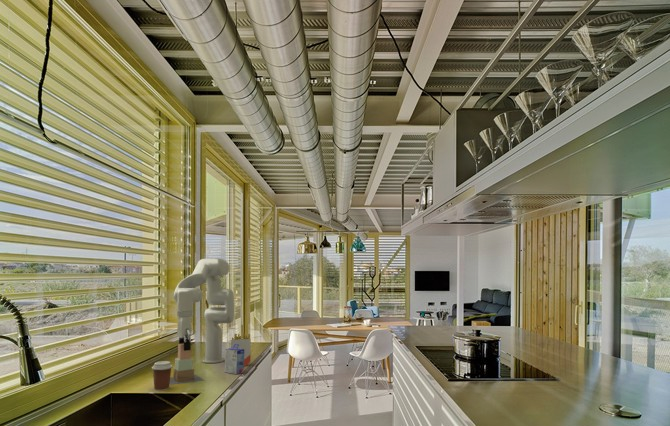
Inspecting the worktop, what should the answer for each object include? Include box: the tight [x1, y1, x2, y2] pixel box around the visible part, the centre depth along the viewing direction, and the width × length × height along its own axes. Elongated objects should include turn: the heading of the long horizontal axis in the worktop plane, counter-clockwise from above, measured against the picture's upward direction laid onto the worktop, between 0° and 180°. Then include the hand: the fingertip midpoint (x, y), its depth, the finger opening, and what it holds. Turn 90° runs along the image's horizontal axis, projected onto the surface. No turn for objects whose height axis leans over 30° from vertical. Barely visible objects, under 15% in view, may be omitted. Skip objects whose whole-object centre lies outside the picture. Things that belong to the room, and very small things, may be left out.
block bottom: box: [173, 367, 195, 382], centre depth 235 cm, size 8×8×5 cm
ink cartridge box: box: [224, 344, 245, 375], centre depth 252 cm, size 10×6×14 cm, turn 53°
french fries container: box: [230, 333, 252, 367], centre depth 270 cm, size 5×11×18 cm, turn 103°
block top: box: [174, 357, 194, 371], centre depth 236 cm, size 7×7×5 cm
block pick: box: [177, 343, 192, 360], centre depth 237 cm, size 5×5×7 cm
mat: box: [169, 373, 205, 386], centre depth 235 cm, size 16×16×1 cm
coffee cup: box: [151, 360, 174, 391], centre depth 218 cm, size 9×9×12 cm
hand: (184, 348), depth 237 cm, fingers open, 9 cm apart
